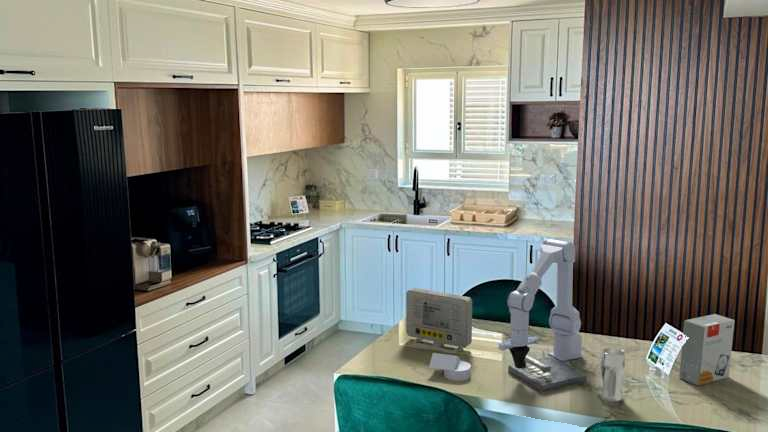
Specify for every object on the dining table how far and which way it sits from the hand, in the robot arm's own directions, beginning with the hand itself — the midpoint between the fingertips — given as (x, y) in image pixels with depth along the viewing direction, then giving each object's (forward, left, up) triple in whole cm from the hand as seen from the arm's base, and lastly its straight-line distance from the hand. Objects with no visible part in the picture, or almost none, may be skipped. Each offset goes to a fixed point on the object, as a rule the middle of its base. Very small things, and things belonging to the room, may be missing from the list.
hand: (518, 367), depth 219 cm
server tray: (-9, +3, -4) cm, 11 cm away
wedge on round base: (+18, -13, -4) cm, 22 cm away
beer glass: (-17, +24, -4) cm, 30 cm away
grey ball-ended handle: (-5, +1, 0) cm, 6 cm away
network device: (+9, -38, -4) cm, 39 cm away
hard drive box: (-55, +26, -4) cm, 61 cm away
